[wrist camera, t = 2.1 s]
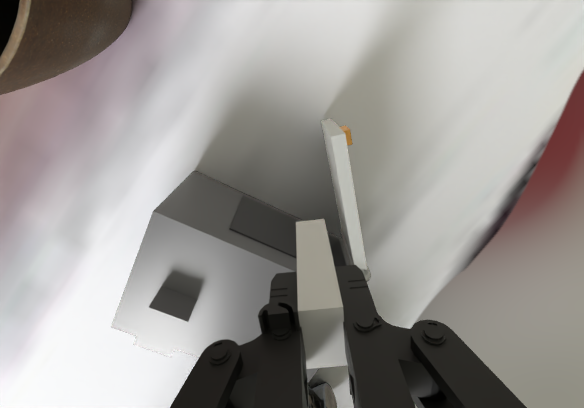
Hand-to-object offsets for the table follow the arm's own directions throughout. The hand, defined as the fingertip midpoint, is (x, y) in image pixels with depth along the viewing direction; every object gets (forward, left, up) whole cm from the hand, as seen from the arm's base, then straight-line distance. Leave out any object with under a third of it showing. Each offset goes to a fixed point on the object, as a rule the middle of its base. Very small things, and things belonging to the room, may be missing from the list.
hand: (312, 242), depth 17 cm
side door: (0, -4, -15) cm, 16 cm away
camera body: (-11, 0, -16) cm, 19 cm away
